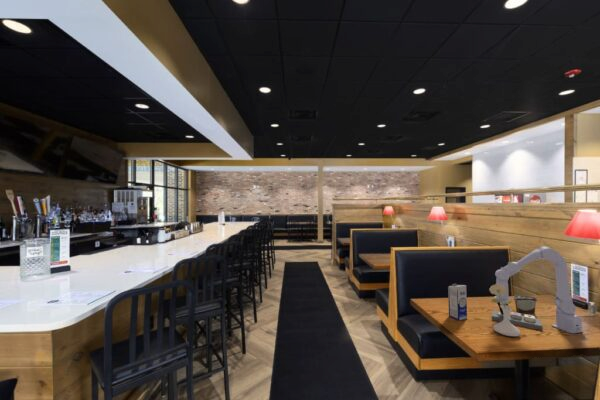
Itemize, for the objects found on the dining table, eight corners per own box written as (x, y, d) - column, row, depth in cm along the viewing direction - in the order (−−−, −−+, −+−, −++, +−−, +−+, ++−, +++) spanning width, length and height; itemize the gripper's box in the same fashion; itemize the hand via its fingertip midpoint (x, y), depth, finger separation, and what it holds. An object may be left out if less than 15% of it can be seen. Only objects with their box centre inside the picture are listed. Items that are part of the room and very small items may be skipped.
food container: (530, 310, 172) (529, 294, 172) (537, 314, 166) (536, 297, 166) (509, 310, 173) (508, 294, 174) (515, 313, 167) (515, 297, 168)
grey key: (520, 317, 157) (520, 313, 157) (520, 320, 154) (520, 315, 154) (511, 315, 160) (511, 311, 160) (511, 318, 156) (510, 313, 156)
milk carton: (458, 320, 158) (458, 286, 159) (448, 316, 165) (447, 283, 165) (467, 318, 161) (466, 284, 161) (457, 314, 167) (456, 281, 168)
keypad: (541, 323, 154) (540, 319, 154) (542, 330, 145) (542, 325, 146) (493, 313, 168) (493, 310, 168) (492, 319, 159) (491, 315, 159)
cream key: (534, 320, 153) (534, 315, 153) (535, 323, 150) (534, 318, 150) (524, 318, 156) (524, 313, 156) (524, 320, 153) (524, 316, 153)
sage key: (507, 317, 161) (507, 313, 161) (507, 320, 157) (507, 315, 157) (498, 316, 163) (498, 311, 164) (498, 318, 160) (498, 314, 160)
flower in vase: (522, 333, 142) (521, 285, 143) (518, 341, 134) (517, 290, 135) (492, 325, 152) (491, 280, 152) (487, 332, 144) (486, 284, 144)
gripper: (494, 286, 169) (495, 308, 169) (493, 292, 158) (493, 316, 157) (509, 288, 164) (509, 311, 164) (508, 294, 153) (509, 319, 153)
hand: (502, 313), depth 160 cm, fingers closed
